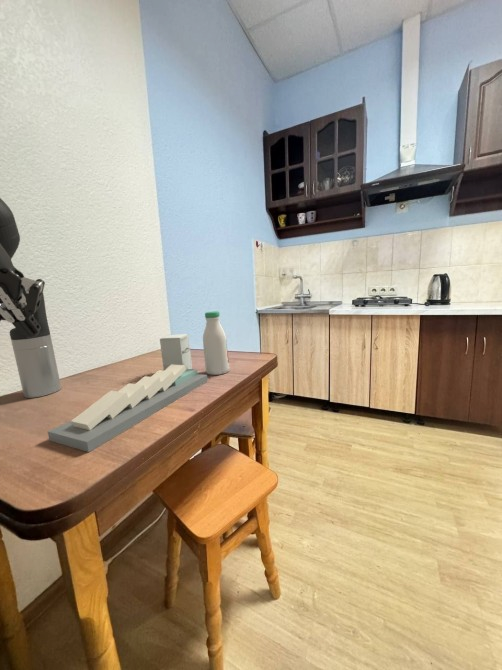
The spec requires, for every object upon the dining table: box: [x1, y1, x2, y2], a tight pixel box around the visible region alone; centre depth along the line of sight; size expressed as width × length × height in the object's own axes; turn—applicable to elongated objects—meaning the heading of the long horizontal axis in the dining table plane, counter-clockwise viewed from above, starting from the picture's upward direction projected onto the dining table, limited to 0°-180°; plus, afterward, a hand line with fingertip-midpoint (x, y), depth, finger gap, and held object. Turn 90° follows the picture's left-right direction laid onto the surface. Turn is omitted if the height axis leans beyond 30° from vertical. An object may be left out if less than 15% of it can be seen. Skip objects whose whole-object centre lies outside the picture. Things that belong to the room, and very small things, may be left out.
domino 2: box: [105, 383, 145, 419], centre depth 63 cm, size 1×5×10 cm
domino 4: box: [143, 369, 174, 399], centre depth 72 cm, size 1×5×10 cm
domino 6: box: [171, 368, 198, 386], centre depth 81 cm, size 1×5×10 cm
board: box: [47, 373, 209, 453], centre depth 69 cm, size 12×38×2 cm, turn 155°
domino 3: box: [127, 375, 161, 408], centre depth 68 cm, size 1×5×10 cm
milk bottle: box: [202, 311, 230, 376], centre depth 91 cm, size 8×8×20 cm
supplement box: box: [159, 333, 193, 371], centre depth 95 cm, size 7×7×13 cm
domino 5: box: [159, 364, 186, 391], centre depth 77 cm, size 1×5×10 cm
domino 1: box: [70, 390, 128, 430], centre depth 59 cm, size 1×5×10 cm
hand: (34, 334), depth 50 cm, fingers closed
